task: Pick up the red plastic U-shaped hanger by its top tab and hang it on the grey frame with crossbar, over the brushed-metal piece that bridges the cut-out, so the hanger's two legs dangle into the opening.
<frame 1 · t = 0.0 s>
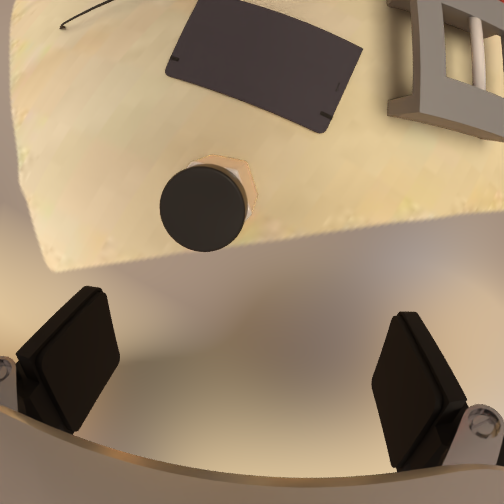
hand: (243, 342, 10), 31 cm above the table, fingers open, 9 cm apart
grey frame with crossbar: (442, 64, 30), on the table
notebook: (262, 57, 33), on the table
jar: (223, 187, 39), on the table
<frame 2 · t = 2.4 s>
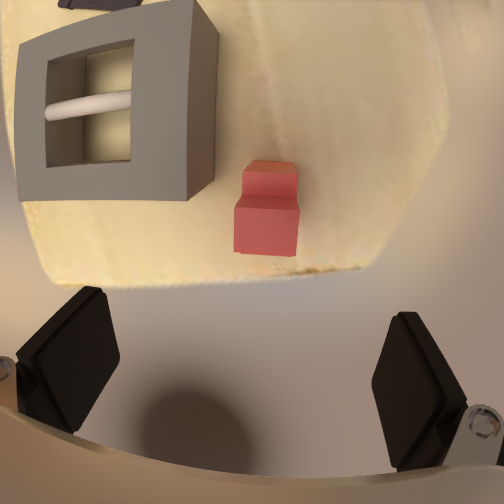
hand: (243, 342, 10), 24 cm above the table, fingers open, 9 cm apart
hanger: (271, 192, 32), on the table
grey frame with crossbar: (134, 108, 30), on the table
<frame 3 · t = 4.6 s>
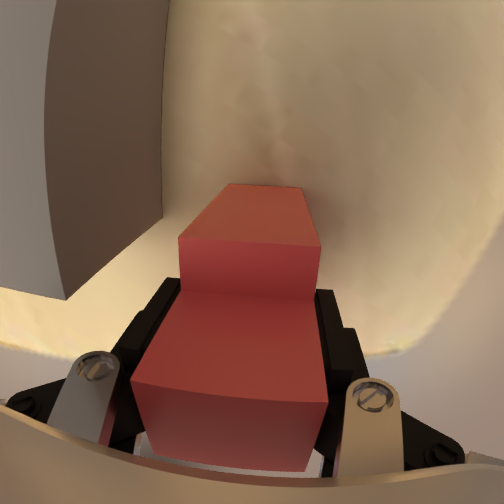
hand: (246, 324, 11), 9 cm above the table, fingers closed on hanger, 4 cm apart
hanger: (261, 240, 18), on the table, touching gripper
grey frame with crossbar: (45, 103, 16), on the table
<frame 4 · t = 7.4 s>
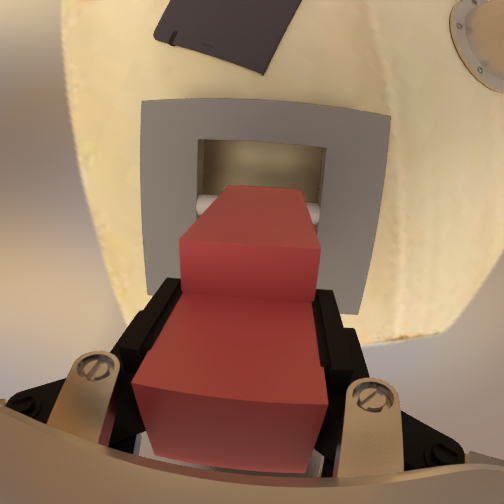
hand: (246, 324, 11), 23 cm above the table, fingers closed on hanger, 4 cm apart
hanger: (262, 241, 18), point 15 cm above the table, touching gripper
grey frame with crossbar: (264, 187, 32), on the table
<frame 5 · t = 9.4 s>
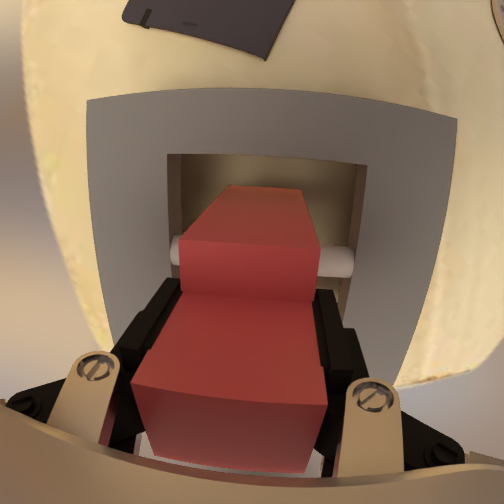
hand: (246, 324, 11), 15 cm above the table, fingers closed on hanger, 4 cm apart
hanger: (261, 241, 18), point 7 cm above the table, touching gripper
grey frame with crossbar: (269, 210, 24), on the table
when the fingers open (12 cm above the table, at t = 10.6 s): hanger drops 1 cm, resting on grey frame with crossbar.
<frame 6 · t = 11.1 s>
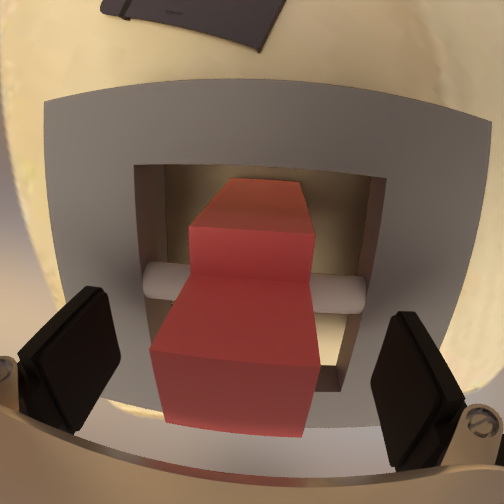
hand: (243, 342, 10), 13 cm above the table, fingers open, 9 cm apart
hanger: (262, 230, 20), point 2 cm above the table, touching grey frame with crossbar
grey frame with crossbar: (264, 224, 21), on the table
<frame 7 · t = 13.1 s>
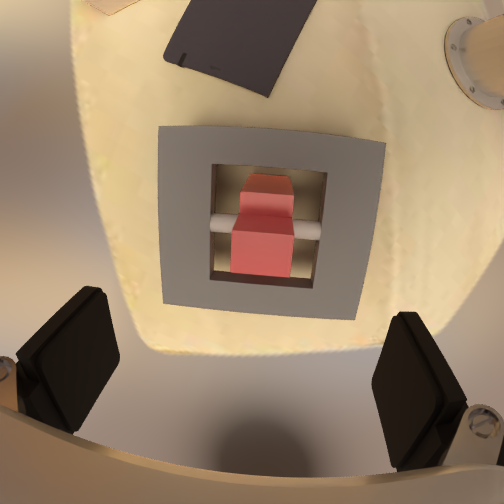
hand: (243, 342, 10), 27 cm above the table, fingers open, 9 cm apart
hanger: (267, 205, 33), point 2 cm above the table, touching grey frame with crossbar
grey frame with crossbar: (268, 202, 35), on the table
notebook: (253, 2, 27), on the table
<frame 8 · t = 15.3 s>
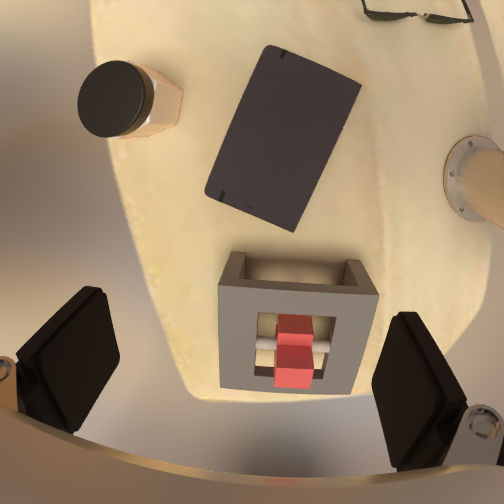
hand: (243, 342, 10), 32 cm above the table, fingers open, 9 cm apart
hanger: (291, 313, 44), point 2 cm above the table, touching grey frame with crossbar
grey frame with crossbar: (291, 306, 46), on the table
notebook: (281, 136, 38), on the table
jar: (153, 104, 37), on the table
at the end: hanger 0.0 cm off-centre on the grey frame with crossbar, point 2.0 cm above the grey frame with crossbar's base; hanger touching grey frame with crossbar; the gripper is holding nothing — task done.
